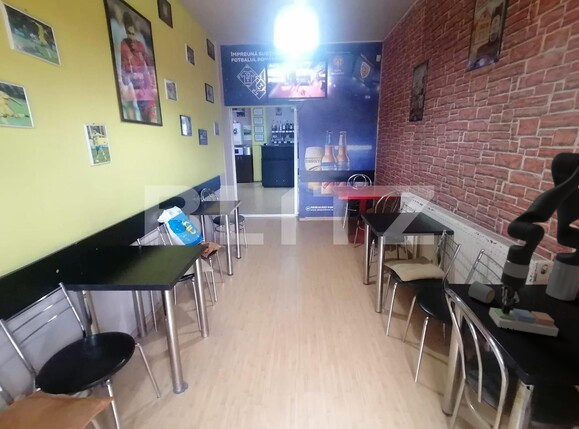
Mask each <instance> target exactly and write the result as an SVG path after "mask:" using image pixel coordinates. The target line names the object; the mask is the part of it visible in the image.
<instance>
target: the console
mask: <svg viewBox="0 0 579 429" xmlns="http://www.w3.org/2000/svg"><path fill="white" fill-rule="evenodd" d="M496 309H498V308H496ZM510 312H511V313H512V312H513V310H510ZM488 315H489V316H490V318H491V319H492V321H493V322H494V324H495V325H496V326H497V327H498V328H501V327H502V328H503V329H507V328H509V330H513V329H514V330H515V331H520V332H525V333H526V332H527V333H533V334H539V335H545V336H550V337H552V336H553V337H558V332H559V330H560V329H559V328H558V327H557V326H556V325H555V324H553V326H548V325H542V324H537V323H536V322H535V321H534V323H529V322H522V321H518V320H517V319H516V318H515V320H509V319H503V318H499V317H498V315H497V314H496V313H495V307H490V308H489V311H488ZM514 330H513V331H514Z"/></svg>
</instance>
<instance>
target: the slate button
mask: <svg viewBox="0 0 579 429" xmlns="http://www.w3.org/2000/svg"><path fill="white" fill-rule="evenodd" d="M512 311H513V312H512V314H513V315H514V316H515V318H516V319H517V320H518V321H522V322H529V323H534V320H535V318H534V316H533V315H532V314H531V311H529V310H526V309H519V308H512Z"/></svg>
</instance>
